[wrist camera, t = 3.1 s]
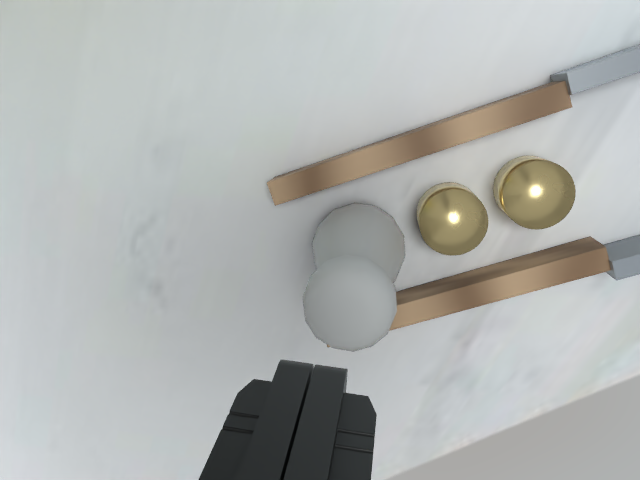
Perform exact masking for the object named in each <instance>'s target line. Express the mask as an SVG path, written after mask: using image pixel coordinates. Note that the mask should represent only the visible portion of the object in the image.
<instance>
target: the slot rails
mask: <svg viewBox="0 0 640 480" xmlns="http://www.w3.org/2000/svg"><path fill="white" fill-rule="evenodd" d="M571 107H572V104H571V100H570V95H569V93H568V89H567V85H566V81H558V82H551V83H548V84H545V85H542V86H539V87H536V88H533V89H530V90H527V91H524V92H522V93H519V94H516V95H513V96H510V97H507V98H504V99H501V100H498V101H495V102H492V103H489V104H487V105H484V106H481V107H478V108H475V109H472V110H469V111H466V112H463V113H460V114H457V115H454V116H452V117H449V118H446V119H443V120H440V121H437V122H434V123H431V124H428V125H425V126H422V127H419V128H417V129H414V130H411V131H408V132H405V133H402V134H399V135H396V136H393V137H390V138H387V139H384V140H382V141H379V142H376V143H373V144H370V145H367V146H364V147H361V148H358V149H355V150H352V151H349V152H347V153H344V154H341V155H338V156H335V157H332V158H329V159H326V160H323V161H320V162H317V163H314V164H312V165H309V166H306V167H303V168H300V169H297V170H294V171H291V172H288V173H285V174H282V175H279V176H277V177H274V178H273V179H271V180H270V181H269V182H267V185H268V188H269V190H270V193H271V196H272V199H273V201H274V204H275V206H276V205H279V204H282V203H285V202H288V201H291V200H294V199H297V198H300V197H303V196H306V195H309V194H312V193H315V192H318V191H321V190H324V189H327V188H330V187H333V186H336V185H339V184H342V183H345V182H348V181H351V180H354V179H357V178H360V177H363V176H366V175H369V174H372V173H375V172H378V171H381V170H384V169H387V168H390V167H393V166H396V165H399V164H402V163H405V162H408V161H411V160H414V159H417V158H420V157H423V156H426V155H429V154H432V153H435V152H438V151H441V150H444V149H447V148H450V147H453V146H456V145H459V144H462V143H465V142H468V141H471V140H474V139H477V138H480V137H483V136H487V135H490V134H493V133H496V132H499V131H502V130H505V129H508V128H511V127H514V126H517V125H520V124H523V123H526V122H529V121H532V120H535V119H538V118H541V117H544V116H547V115H550V114H553V113H556V112H559V111H562V110H565V109H568V108H571ZM610 270H611V267H610V263H609V257H608V253H607V249H606V247H605V246H604V245H602V244H601V243H599V242H598V241H596V240H595V239H593V238H592V237H587V238H583V239H580V240H576V241H573V242H569V243H566V244H562V245H559V246H555V247H552V248H548V249H545V250H541V251H538V252H534V253H531V254H527V255H524V256H520V257H517V258H513V259H510V260H506V261H503V262H499V263H496V264H492V265H489V266H485V267H482V268H478V269H475V270H471V271H468V272H464V273H461V274H457V275H454V276H450V277H447V278H443V279H440V280H436V281H433V282H429V283H426V284H422V285H419V286H415V287H412V288H408V289H405V290H401V291H398V292H396V302H397V312H396V315H395V317H394V319H393V322H392V324H391V327H390V329H389V331H390V330H394V329H397V328H401V327H405V326H408V325H412V324H416V323H419V322H423V321H427V320H430V319H434V318H438V317H441V316H445V315H449V314H452V313H456V312H460V311H463V310H467V309H471V308H474V307H478V306H482V305H485V304H489V303H493V302H496V301H500V300H504V299H507V298H511V297H515V296H518V295H522V294H526V293H529V292H533V291H537V290H540V289H544V288H548V287H551V286H555V285H559V284H562V283H566V282H570V281H573V280H577V279H581V278H584V277H588V276H592V275H595V274H599V273H603V272H606V271H610ZM327 347H331V346H329V345H327Z"/></svg>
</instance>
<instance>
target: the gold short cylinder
mask: <svg viewBox="0 0 640 480" xmlns="http://www.w3.org/2000/svg"><path fill="white" fill-rule="evenodd" d="M417 221H418V224H419V228H420V232H421V235H422V237H423V239H424V241H425V242H426V243H427V245H428V246H429V247H431V248H432V249H433V250H435V251H436V252H439V253H441V254H445V255H461V254H464V253H467V252H469V251H471V250H472V249H474V248H475V247H476V246H478V245H479V244H480V242H481V241H482V240H483V238H484V236H485V234H486V232H487V228H488V215H487V212H486V209H485V207H484V205H483V204H482V202H481V201H480V200H479V199H478V198H477V197H476V196H475V195H474V194H473V193H472V191H470V190H469V189H468V188H467V187H465V186H463V185H461V184H458V183H452V182H447V183H441V184H438V185H435V186H433V187H432V188H430V189H429V190H428V191H426V192H425V193H424V195H423V196H422V197H421V199H420V201H419V204H418V207H417Z"/></svg>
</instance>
